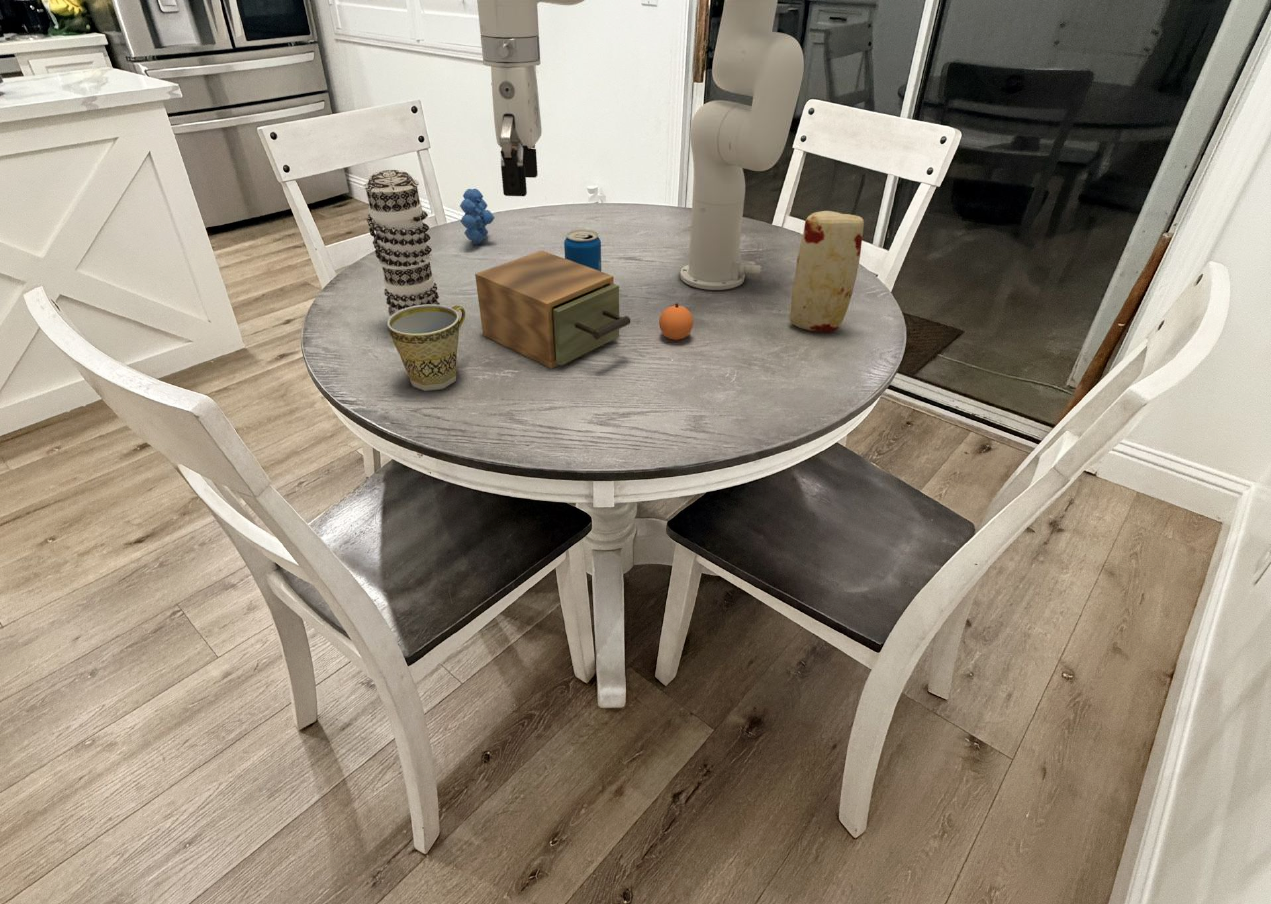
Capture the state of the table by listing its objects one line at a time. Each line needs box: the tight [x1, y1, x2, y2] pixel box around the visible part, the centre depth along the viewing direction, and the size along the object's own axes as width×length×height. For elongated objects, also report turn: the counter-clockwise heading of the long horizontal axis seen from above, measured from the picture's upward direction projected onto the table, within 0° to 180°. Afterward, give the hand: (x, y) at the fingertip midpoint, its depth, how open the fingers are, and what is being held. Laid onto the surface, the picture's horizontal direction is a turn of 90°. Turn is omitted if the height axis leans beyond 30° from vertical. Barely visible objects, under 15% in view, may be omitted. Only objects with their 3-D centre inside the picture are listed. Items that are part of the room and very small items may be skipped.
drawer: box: [552, 283, 631, 366], centre depth 112 cm, size 21×13×9 cm, turn 49°
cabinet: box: [474, 250, 615, 369], centre depth 115 cm, size 17×14×11 cm
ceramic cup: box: [386, 304, 466, 392], centre depth 104 cm, size 13×10×10 cm
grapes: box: [459, 188, 496, 245], centre depth 149 cm, size 12×7×12 cm, turn 173°
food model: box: [788, 210, 865, 334], centre depth 115 cm, size 10×7×20 cm
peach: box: [658, 302, 694, 341], centre depth 116 cm, size 6×6×6 cm
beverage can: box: [563, 229, 602, 272], centre depth 127 cm, size 6×6×12 cm
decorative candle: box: [363, 169, 441, 317], centre depth 113 cm, size 9×9×25 cm
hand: (521, 185), depth 102 cm, fingers open, 9 cm apart
